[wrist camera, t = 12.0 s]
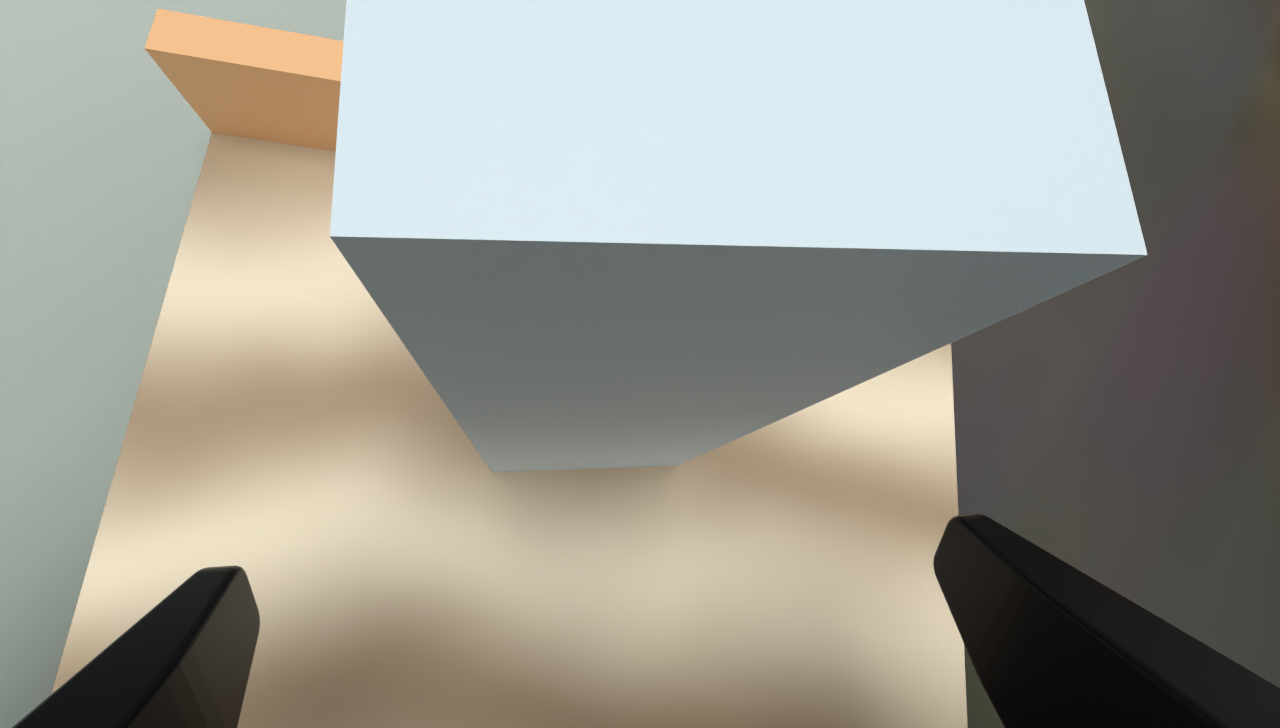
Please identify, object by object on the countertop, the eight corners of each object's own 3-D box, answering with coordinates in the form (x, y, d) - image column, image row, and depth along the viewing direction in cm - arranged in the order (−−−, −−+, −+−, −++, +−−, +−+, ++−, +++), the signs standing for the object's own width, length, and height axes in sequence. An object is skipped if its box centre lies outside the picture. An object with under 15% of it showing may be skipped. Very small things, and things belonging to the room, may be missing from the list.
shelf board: (923, 803, 17) (972, 837, 15) (85, 775, 15) (16, 812, 13) (908, 242, 21) (945, 214, 19) (253, 142, 19) (221, 98, 17)
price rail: (946, 245, 19) (1019, 195, 16) (212, 132, 16) (144, 48, 14) (945, 214, 19) (1017, 159, 17) (221, 98, 17) (157, 8, 14)
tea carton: (677, 465, 16) (1147, 254, 4) (491, 472, 16) (330, 234, 3) (667, 303, 17) (1014, -281, 5) (492, 302, 17) (374, -388, 4)
